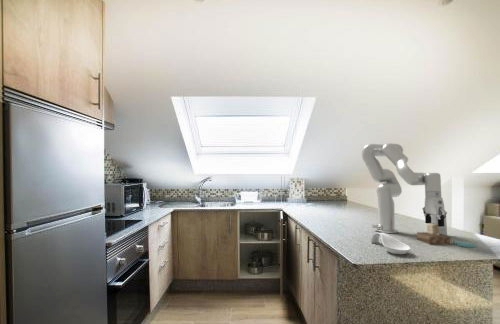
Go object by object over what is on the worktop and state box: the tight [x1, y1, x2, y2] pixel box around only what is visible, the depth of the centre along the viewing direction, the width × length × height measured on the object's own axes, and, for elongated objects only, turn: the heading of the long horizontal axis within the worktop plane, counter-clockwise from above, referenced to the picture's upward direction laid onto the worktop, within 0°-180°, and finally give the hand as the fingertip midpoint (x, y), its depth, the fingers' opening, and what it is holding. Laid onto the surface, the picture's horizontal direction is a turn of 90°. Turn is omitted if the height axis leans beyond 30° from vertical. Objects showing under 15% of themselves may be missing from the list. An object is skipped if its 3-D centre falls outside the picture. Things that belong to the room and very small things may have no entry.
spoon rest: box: [370, 232, 411, 256], centre depth 135 cm, size 24×12×7 cm, turn 9°
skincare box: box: [430, 214, 448, 236], centre depth 163 cm, size 8×7×16 cm
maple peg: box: [426, 223, 439, 236], centre depth 149 cm, size 4×4×10 cm
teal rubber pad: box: [453, 240, 476, 249], centre depth 142 cm, size 9×9×1 cm
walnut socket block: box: [416, 231, 452, 245], centre depth 148 cm, size 12×10×4 cm
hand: (434, 224), depth 148 cm, fingers open, 9 cm apart
